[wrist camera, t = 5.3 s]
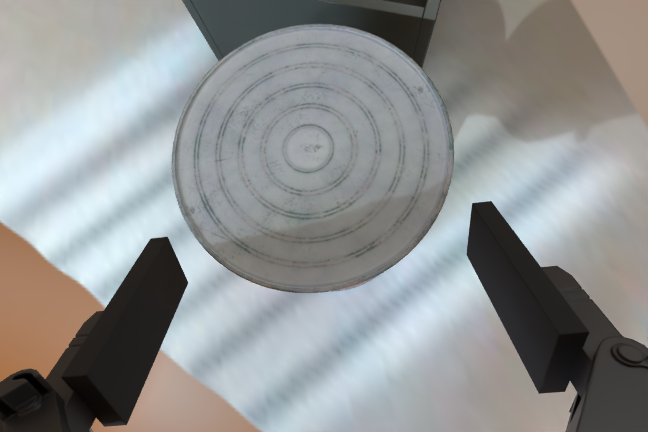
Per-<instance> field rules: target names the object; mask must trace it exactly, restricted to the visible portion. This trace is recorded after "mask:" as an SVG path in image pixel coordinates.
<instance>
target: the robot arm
mask: <svg viewBox="0 0 648 432" xmlns="http://www.w3.org/2000/svg"><path fill="white" fill-rule="evenodd" d="M467 256H468V258H469V260H470V262H471V264H472V266H473V268H474V270H475V272H476V274H477V275H478V277H479V279H480V281H481V283H482V285H483V287H484V289H485V291H486V293H487V295H488V297H489V298H490V300H491V302H492V304H493V306H494V308H495V310H496V312H497V314H498V316H499V318H500V320H501V321H502V323H503V325H504V327H505V329H506V331H507V333H508V335H509V337H510V339H511V341H512V343H513V345H514V346H515V348H516V350H517V352H518V354H519V356H520V358H521V360H522V362H523V364H524V366H525V368H526V369H527V371H528V373H529V375H530V377H531V379H532V381H533V383H534V385H535V387H536V389H537V391H538V392H539V393H552V392H565V390H566V388H567V386H568V383H569V381H571V383H572V384H573V386H574V387H575V389H576V391H577V392H578V393H577V395H576V397H575V400H574V402H573V404H572V406H571V409H570V411H569V412H571V415H570V418H569V422H568V425H567V429H566V432H648V348H647V347H645V346H644V345H643V344H641V343H639V342H637V341H634V340H632V339H629V338H625V337H623V336H622V335H621V334H620V333H619V332H618V330H617V329H616V328H615V327H614V326H613V324H612V323H611V322H610V321H609V320H608V318H607V317H606V316H605V315H604V314H603V312H602V311H601V310H600V309H599V308H598V306H597V305H596V304H595V303H594V302H593V300H592V299H590V298H589V296H588V294H587V293H586V292H585V291H584V290H582V288H581V286H580V285H579V284H578V282H577V281H576V280H575V279H574V278H573V276H572V275H570V274H569V273H567V272H566V271H564V270H563V269H561V268H559V267H558V266H550V267H540V265H539V264H538V263H537V262H536V260H535V259H534V258H533V256H532V255H531V254H530V252H529V251H528V250H527V248H526V247H525V246H524V244H523V243H522V242H521V240H520V239H519V238H518V236H517V235H516V234H515V232H514V231H513V230H512V228H511V227H510V226H509V224H508V223H507V222H506V220H505V219H504V218H503V216H502V215H501V214H500V212H499V211H498V210H497V208H496V207H495V206H494V204H493V203H492V202H491V201H489V202H480V203H472V211H471V220H470V228H469V237H468V246H467ZM187 284H188V281H187V279H186V277H185V274H184V272H183V270H182V268H181V266H180V263H179V261H178V259H177V257H176V255H175V252H174V250H173V248H172V246H171V244H170V241H169V239H168V237H162V238H153V239H150V241H149V242H148V244H147V245H146V247H145V248H144V250H143V251H142V253H141V254H140V256H139V258H138V259H137V261H136V262H135V264H134V265H133V267H132V268H131V270H130V271H129V273H128V274H127V276H126V278H125V279H124V281H123V282H122V284H121V285H120V287H119V288H118V290H117V291H116V293H115V295H114V296H113V298H112V299H111V301H110V302H109V304H108V305H107V307H106V308H105V310H104V311H98V312H96V313H94V315H92V316H91V317H90V318H89V319H88V320H87V321H86V322H84V324H83V325H82V327H81V328H80V330H79V331H78V333H77V334H76V338H73V340H72V341H71V343H70V344H69V348H67V349H66V350H65V352H64V353H63V354H62V356H61V357H60V359H59V360H58V362H57V363H56V365H55V366H54V368H53V369H52V370H51V372H50V374H49V375H48V376H47V378H46V379H44V378H43V377H42V376H41V374H40V373H39V372H38V371H37V370H34V369H25V370H21V371H19V372H16V373H14V374H12V375H10V376H9V377H7V378H6V379H4V380H3V381H1V382H0V432H93V431H92V429H91V426H92V424H93V422H94V420H95V418H97V419H98V420H99V421H100V422H101V423H102V424H103V426H118V425H127V423H128V421H129V418H130V416H131V414H132V411H133V409H134V407H135V404H136V402H137V400H138V397H139V395H140V393H141V390H142V388H143V386H144V384H145V381H146V379H147V377H148V374H149V372H150V370H151V368H152V365H153V363H154V361H155V358H156V356H157V354H158V351H159V349H160V347H161V344H162V342H163V340H164V337H165V335H166V333H167V331H168V328H169V326H170V324H171V321H172V319H173V317H174V314H175V312H176V310H177V307H178V305H179V303H180V301H181V298H182V296H183V294H184V291H185V289H186V287H187Z"/></svg>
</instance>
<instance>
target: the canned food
mask: <svg viewBox="0 0 648 432" xmlns="http://www.w3.org/2000/svg"><path fill="white" fill-rule="evenodd" d="M453 162H454V144H453V135H452V128H451V124H450V120H449V116H448V113H447V110H446V108H445V105H444V103H443V100H442V98H441V96H440V95H439V93H438V91H437V89H436V87H435V86H434V84H433V83H432V81H431V80H430V78H429V77H428V76H427V75H426V73H425V72H424V71H423V70H422V68H421V67H420V66H419V65H418V64H417V63H416V62H415V61H414V60H413V59H412V58H410V57H409V56H408V55H407V54H405V53H404V52H403V51H402V50H400V49H399V48H397V47H396V46H394V45H393V44H391V43H389V42H387V41H386V40H384V39H382V38H380V37H378V36H375V35H373V34H371V33H368V32H365V31H362V30H359V29H355V28H351V27H346V26H340V25H333V24H305V25H297V26H291V27H286V28H282V29H278V30H275V31H272V32H268V33H266V34H263V35H261V36H258V37H256V38H254V39H252V40H250V41H248V42H246V43H244V44H243V45H241V46H240V47H238V48H236V49H235V50H233V51H232V52H231V53H229V54H228V55H226V56H225V57H224V58H223V59H222V60H220V61H219V62H218V63H217V64H216V65H215V66H214V67H213V68H212V69H211V70H210V71H209V72H208V73H207V74H206V75H205V77H204V78H203V79H202V80H201V82H200V83H199V84H198V85H197V87H196V88H195V90H194V92H193V93H192V95H191V96H190V98H189V100H188V102H187V104H186V106H185V107H184V110H183V112H182V115H181V117H180V120H179V123H178V126H177V129H176V133H175V138H174V143H173V151H172V177H173V185H174V190H175V195H176V198H177V201H178V205H179V208H180V210H181V212H182V215H183V217H184V219H185V221H186V223H187V225H188V227H189V228H190V230H191V232H192V233H193V235H194V236H195V237H196V239H197V240H198V242H199V243H200V244H201V245H202V246H203V247H204V249H205V250H206V251H207V252H208V253H209V254H210V255H211V256H212V257H213V258H214V259H216V260H217V261H218V262H219V263H220V264H222V265H223V266H224V267H226V268H227V269H228V270H230V271H232V272H233V273H235V274H237V275H238V276H240V277H242V278H244V279H246V280H249V281H251V282H253V283H256V284H258V285H261V286H264V287H267V288H272V289H276V290H280V291H287V292H295V293H318V292H328V291H341V290H347V289H351V288H354V287H357V286H360V285H362V284H364V283H366V282H368V281H370V280H372V279H373V278H375V277H376V276H378V275H379V274H381V273H383V272H384V271H386V270H387V269H389V268H391V267H392V266H394V265H395V264H396V263H398V262H399V261H400V260H401V259H403V258H404V257H405V256H406V255H407V254H408V253H410V252H411V251H412V250H413V249H414V248H415V247H416V246H417V245H418V243H419V242H420V241H421V240H422V239H423V237H424V236H425V235H426V234H427V232H428V231H429V229H430V228H431V226H432V225H433V223H434V222H435V220H436V218H437V216H438V214H439V212H440V211H441V209H442V206H443V204H444V201H445V199H446V196H447V193H448V190H449V186H450V182H451V177H452V171H453Z"/></svg>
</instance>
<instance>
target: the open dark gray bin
mask: <svg viewBox="0 0 648 432" xmlns="http://www.w3.org/2000/svg"><path fill="white" fill-rule="evenodd" d="M182 1H183V3H184V4H185V6H186V8H187V9H188V11H189V12H190V14H191V16H192V17H193V19H194V21H195V22H196V24H197V26H198V27H199V29H200V31H201V32H202V34H203V36H204V37H205V39H206V41H207V42H208V44H209V46H210V47H211V49H212V51H213V52H214V54H215V56H216V57H217V59H218V61H220V60H222V59H223V58H224V57H225V56H226V55H228V54H229V53H231V52H232V51H233V50H235V49H236V48H238V47H240V46H241V45H243V44H244V43H246V42H248V41H250V40H252V39H254V38H256V37H258V36H261V35H263V34H266V33H268V32H272V31H275V30H278V29H282V28H286V27H291V26H297V25H305V24H333V25H340V26H346V27H351V28H355V29H359V30H362V31H365V32H368V33H371V34H373V35H375V36H378V37H380V38H382V39H384V40H386V41H387V42H389V43H391V44H393V45H394V46H396V47H397V48H399V49H400V50H402V51H403V52H404V53H405V54H407V55H408V56H409V57H410V58H412V59H413V60H414V61H415V62H416V63H417V64H418V65H419V66H420V67H421V68H422V66H423V62H424V59H425V56H426V52H427V49H428V45H429V42H430V39H431V35H432V32H433V28H434V25H435V21H436V18H437V14H438V10H439V6H440V2H441V0H182Z"/></svg>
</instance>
